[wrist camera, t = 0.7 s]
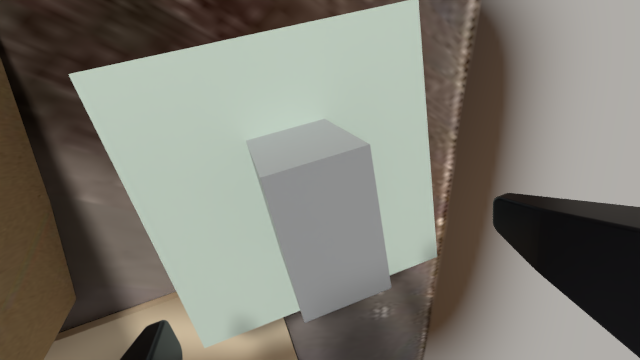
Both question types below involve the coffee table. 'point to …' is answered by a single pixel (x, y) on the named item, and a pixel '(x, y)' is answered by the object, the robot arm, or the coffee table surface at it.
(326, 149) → the lid
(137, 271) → the coffee table surface
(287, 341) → the cork mat
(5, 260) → the wooden ramp
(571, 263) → the robot arm
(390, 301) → the coffee table surface
